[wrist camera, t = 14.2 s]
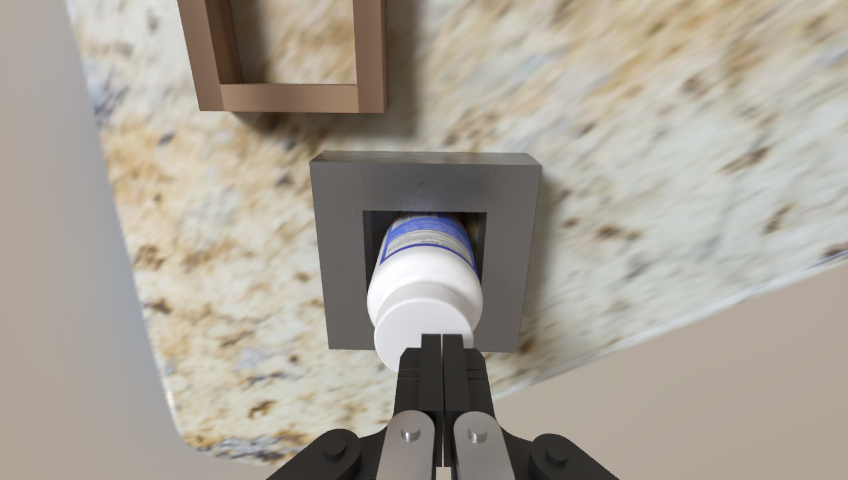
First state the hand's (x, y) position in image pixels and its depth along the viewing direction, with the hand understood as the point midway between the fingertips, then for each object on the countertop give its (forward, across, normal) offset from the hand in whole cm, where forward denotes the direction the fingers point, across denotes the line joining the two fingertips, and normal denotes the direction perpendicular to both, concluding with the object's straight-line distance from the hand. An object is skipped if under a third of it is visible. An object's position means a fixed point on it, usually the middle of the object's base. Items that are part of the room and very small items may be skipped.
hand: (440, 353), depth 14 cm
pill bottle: (+11, +1, 0) cm, 11 cm away
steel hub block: (+11, +1, 0) cm, 11 cm away
